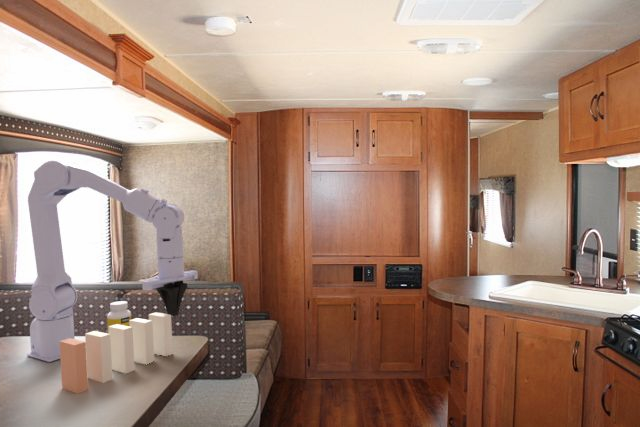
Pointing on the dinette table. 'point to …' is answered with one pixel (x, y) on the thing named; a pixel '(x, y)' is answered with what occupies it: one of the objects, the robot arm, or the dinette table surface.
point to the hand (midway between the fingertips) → (173, 315)
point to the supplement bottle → (118, 314)
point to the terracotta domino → (73, 365)
